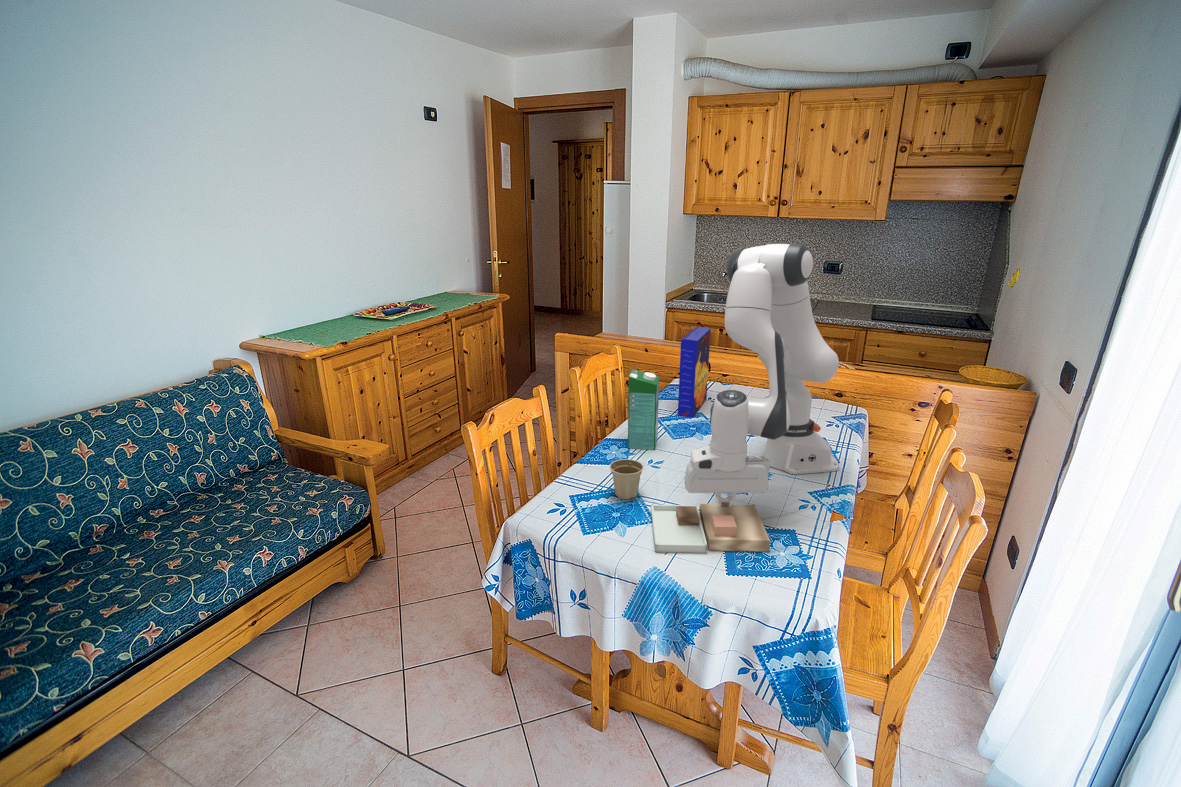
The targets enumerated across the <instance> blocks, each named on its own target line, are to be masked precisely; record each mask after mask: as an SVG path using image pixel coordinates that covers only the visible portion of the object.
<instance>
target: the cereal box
mask: <svg viewBox="0 0 1181 787" xmlns="http://www.w3.org/2000/svg"><path fill="white" fill-rule="evenodd" d="M711 332H712V328H711V327H710V328H709V327H704V326H702V327H701V326H700V327H697V326H696V327H694V328H693V329H691V330H690V332H689V333H687V334H686V335H685V336H683V337H682V338H681V339H680V352H679V356H680V357H679V377H678V378H679V380H678V401H677V403H678V404H677V416H678V417H683V418H684V417H685V418H691V419H693V418H694V417H695V416H696V415H697V413H698V412H699V411H700V409H701V408H702V406H703V405H704V404H705V402H706V401H707V397H708V396H707V394H708V380H709V379H708V378H709V362H710V361H709V360H710V350H711V349H710V348H711V347H710V346H711V345H710V344H711Z"/></svg>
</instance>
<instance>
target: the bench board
mask: <svg viewBox="0 0 1181 787" xmlns="http://www.w3.org/2000/svg"><path fill="white" fill-rule="evenodd" d="M699 514H700V518H701V522H702V526H703V530H704V534H705V538H706V542H707V551H716V552H717V551H719V552H720V551H724V552H766V553H767V552H770V545H771V539H770V536H769V534H768V532H767V530H766V528H765V525H764V524H763V521H762V518H761V517H760V514H759V513H758V510H757V508H756V506H755V504H737V503H736V504H734V503H733V504H732V503H731V507H719V505H718V503H700V504H699ZM712 515H726V516H733V517H734V520H735V523H736V526H737V533H736V536H715V535H714V532H713V528H712V524H711V523H712Z"/></svg>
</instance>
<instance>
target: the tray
mask: <svg viewBox="0 0 1181 787" xmlns="http://www.w3.org/2000/svg"><path fill="white" fill-rule="evenodd" d="M676 506H696V508H697V512H698V515H699V525H698V526H693V525H678V521H677V517H676ZM650 509H651V510H650V511H651V524H652V532H653V533H652V534H653V544H654V551H655V553H683V554H684V553H690V554H692V553H694V554H695V553H696V554H707V553H708V546H707V542H706V538H705V534H704V530H703V526H702V522H701V518H700V514H699V511H700V509H699V507H698V505H697V504H696V505H695V504H694V505H693V504H651V505H650Z"/></svg>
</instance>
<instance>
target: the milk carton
mask: <svg viewBox="0 0 1181 787" xmlns="http://www.w3.org/2000/svg"><path fill="white" fill-rule="evenodd" d="M659 390H660V376H658V375H656V374H655V373H653V372H646V371H642V370H638V369H636V368H635V369H634V368H632V369H631V371H630V374H629V376H628V397H627V398H628V400H627V401H628V402H627V403H628V404H627V406H628V408H627V409H628V410H627V411H628V412H627V448H628V449H635V450H649V451H650V450H651V451H656V448H657V443H658V433H659V432H658V431H659V430H658V429H659V428H658V427H659V400H660V399H659V396H660V395H659V394H660V393H659V392H660V391H659Z"/></svg>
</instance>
